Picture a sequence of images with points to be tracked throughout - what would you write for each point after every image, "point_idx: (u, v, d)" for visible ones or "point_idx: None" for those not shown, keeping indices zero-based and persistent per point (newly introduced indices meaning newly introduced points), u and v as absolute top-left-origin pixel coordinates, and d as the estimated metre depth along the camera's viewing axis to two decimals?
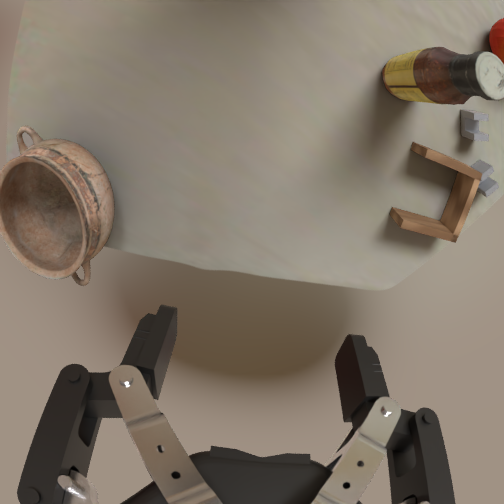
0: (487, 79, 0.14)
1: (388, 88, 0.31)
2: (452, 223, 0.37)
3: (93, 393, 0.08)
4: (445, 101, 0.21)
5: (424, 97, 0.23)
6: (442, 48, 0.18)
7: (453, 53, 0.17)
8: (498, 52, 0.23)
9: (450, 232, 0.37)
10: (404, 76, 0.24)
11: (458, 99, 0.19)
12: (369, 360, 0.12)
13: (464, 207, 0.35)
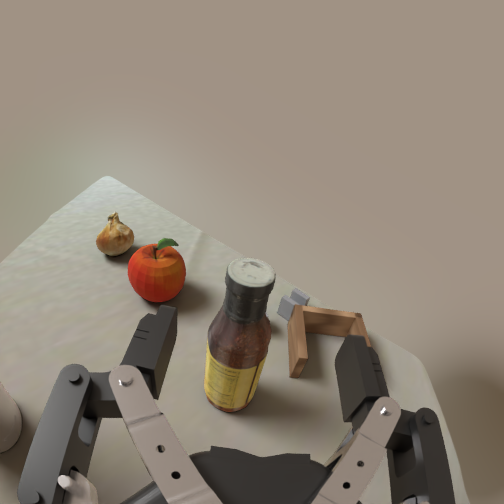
0: (259, 276, 0.24)
1: (246, 404, 0.33)
2: (346, 322, 0.46)
3: (93, 393, 0.08)
4: (270, 332, 0.28)
5: (265, 358, 0.29)
6: (217, 333, 0.26)
7: (223, 320, 0.26)
8: (169, 291, 0.44)
9: (355, 320, 0.45)
10: (244, 381, 0.29)
11: (267, 318, 0.28)
12: (369, 360, 0.12)
13: (331, 314, 0.45)
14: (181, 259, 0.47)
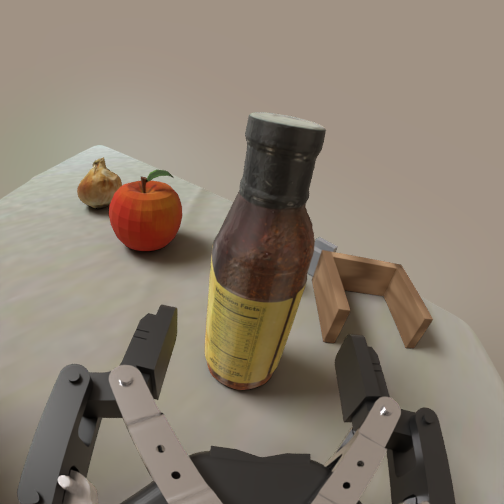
0: (301, 123, 0.14)
1: (267, 377, 0.23)
2: (385, 274, 0.36)
3: (93, 393, 0.08)
4: None
5: (303, 289, 0.19)
6: (229, 232, 0.16)
7: (240, 208, 0.16)
8: (160, 233, 0.34)
9: (396, 272, 0.35)
10: (270, 330, 0.18)
11: None
12: (369, 360, 0.12)
13: (367, 262, 0.35)
14: (177, 195, 0.36)
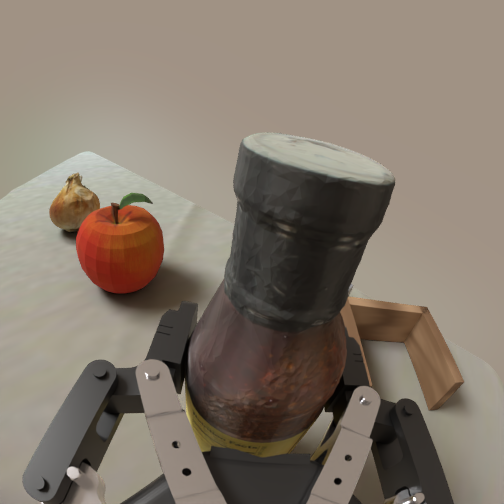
0: (351, 163, 0.07)
1: None
2: (409, 320, 0.28)
3: (117, 391, 0.09)
4: None
5: None
6: (207, 358, 0.09)
7: (224, 320, 0.09)
8: (135, 275, 0.27)
9: (422, 318, 0.28)
10: None
11: None
12: (350, 350, 0.12)
13: (390, 309, 0.28)
14: (156, 225, 0.29)
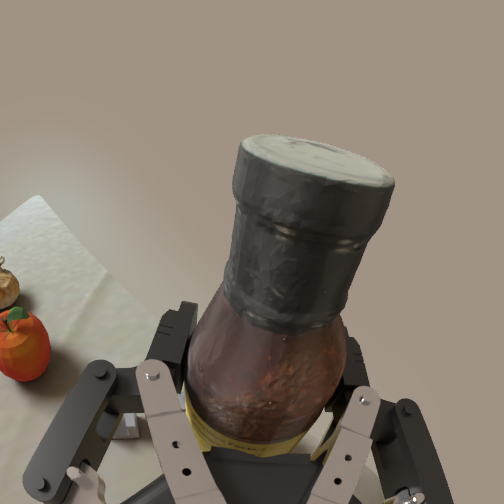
0: (351, 165, 0.07)
1: None
2: None
3: (117, 391, 0.09)
4: None
5: None
6: (206, 361, 0.09)
7: (223, 323, 0.09)
8: (25, 374, 0.26)
9: None
10: None
11: None
12: (350, 350, 0.12)
13: None
14: (36, 334, 0.28)
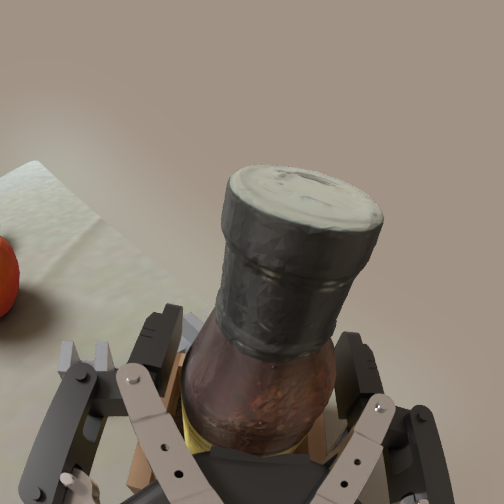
0: (339, 203, 0.07)
1: None
2: None
3: (100, 392, 0.09)
4: None
5: None
6: (199, 383, 0.09)
7: (215, 349, 0.09)
8: None
9: None
10: None
11: None
12: (364, 357, 0.12)
13: None
14: (2, 255, 0.21)
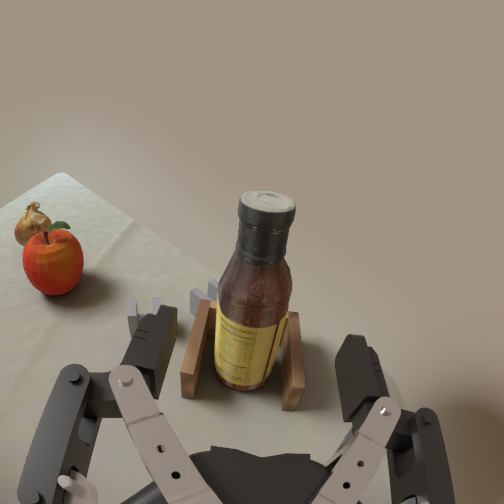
0: (277, 204, 0.20)
1: (263, 381, 0.29)
2: None
3: (93, 393, 0.08)
4: None
5: None
6: (229, 281, 0.23)
7: (236, 264, 0.22)
8: (57, 282, 0.33)
9: (288, 322, 0.33)
10: (261, 346, 0.25)
11: None
12: (369, 360, 0.12)
13: None
14: (74, 245, 0.35)
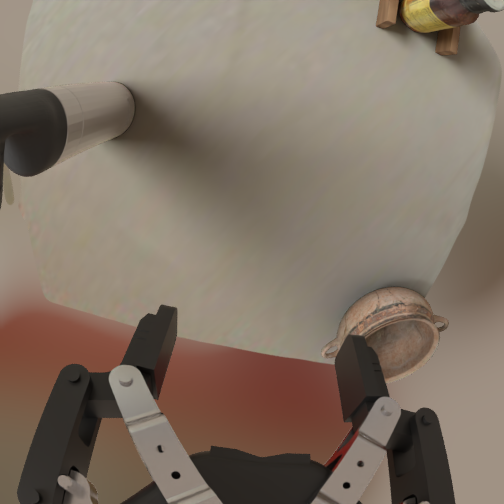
0: (496, 0, 0.12)
1: None
2: None
3: (93, 393, 0.08)
4: None
5: None
6: (445, 3, 0.17)
7: None
8: None
9: None
10: (444, 28, 0.23)
11: None
12: (369, 360, 0.12)
13: None
14: None
